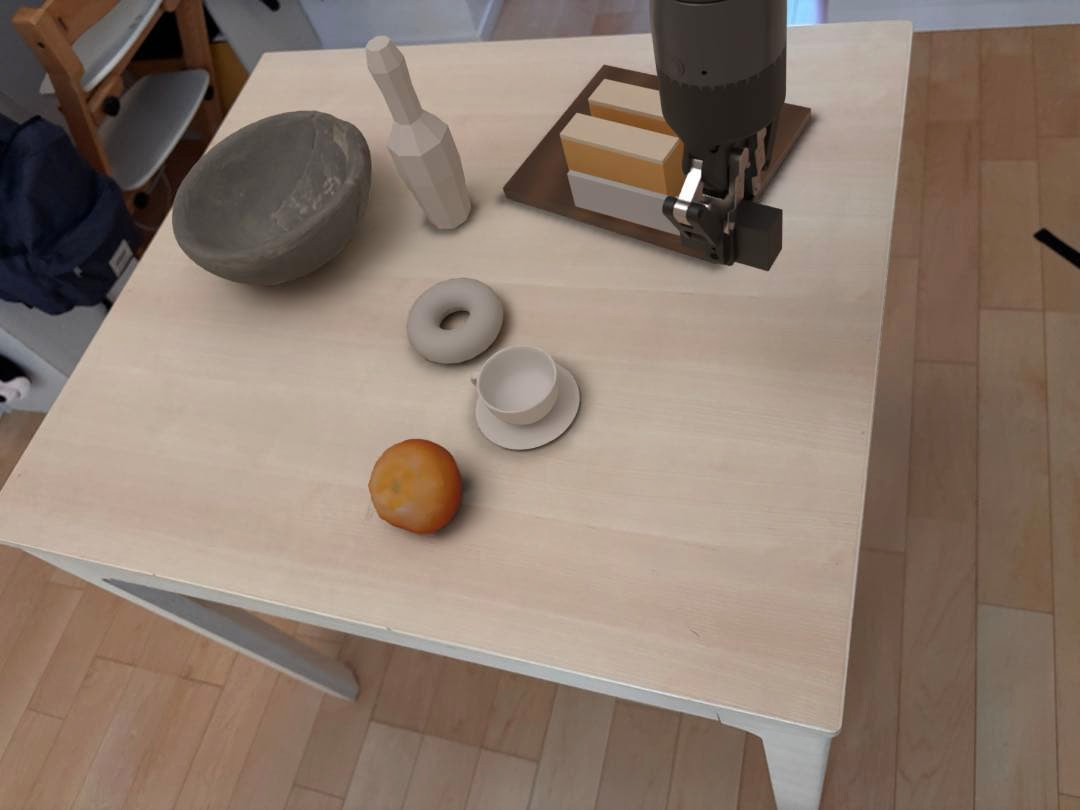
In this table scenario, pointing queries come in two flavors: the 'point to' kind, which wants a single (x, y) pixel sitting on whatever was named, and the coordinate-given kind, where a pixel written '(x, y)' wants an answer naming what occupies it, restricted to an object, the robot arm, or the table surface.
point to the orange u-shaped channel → (625, 140)
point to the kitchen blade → (644, 207)
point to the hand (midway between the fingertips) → (731, 244)
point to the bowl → (274, 198)
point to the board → (551, 191)
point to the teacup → (524, 397)
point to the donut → (464, 338)
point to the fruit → (416, 486)
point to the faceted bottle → (419, 141)
